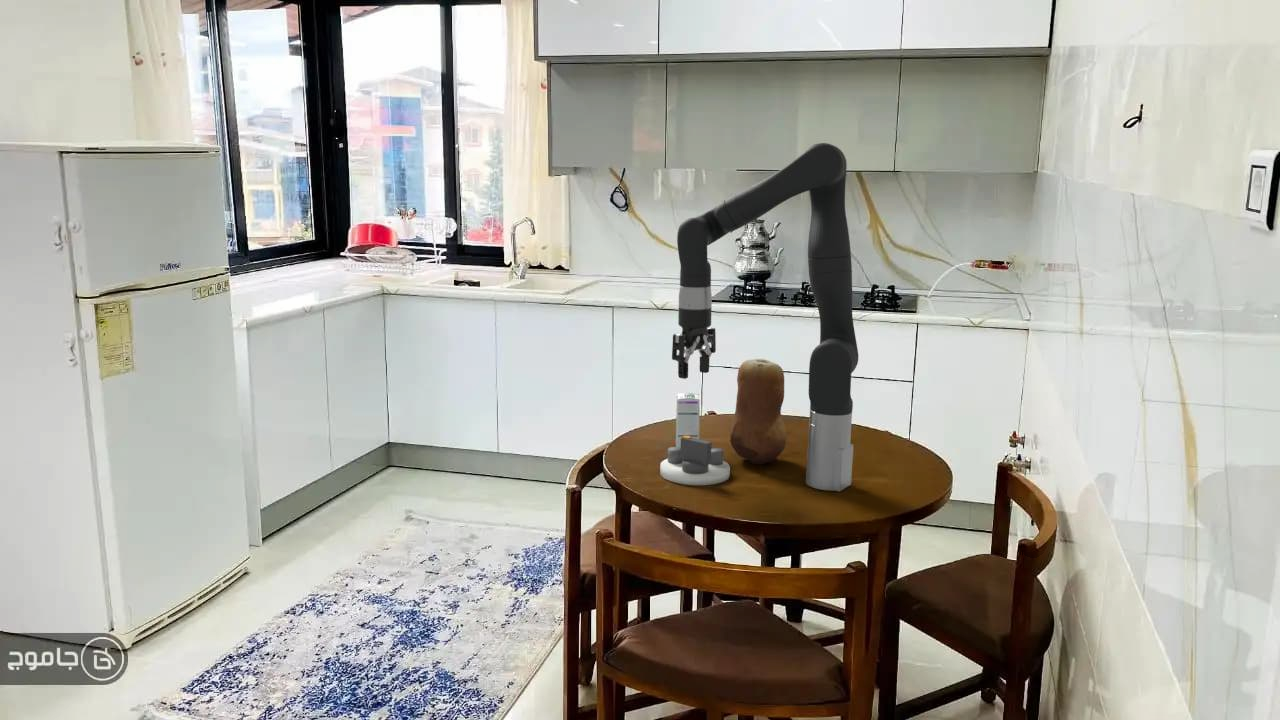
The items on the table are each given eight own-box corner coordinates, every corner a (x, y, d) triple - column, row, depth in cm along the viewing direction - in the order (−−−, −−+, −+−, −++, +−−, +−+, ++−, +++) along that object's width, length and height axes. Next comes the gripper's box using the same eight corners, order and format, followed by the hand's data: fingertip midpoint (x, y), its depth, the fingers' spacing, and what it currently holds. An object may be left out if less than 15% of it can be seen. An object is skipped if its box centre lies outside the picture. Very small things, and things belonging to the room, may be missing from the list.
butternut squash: (791, 457, 233) (797, 358, 228) (776, 473, 221) (781, 368, 216) (738, 449, 239) (742, 352, 234) (720, 464, 227) (723, 362, 222)
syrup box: (699, 456, 233) (701, 398, 230) (675, 455, 233) (676, 398, 230) (698, 449, 238) (700, 393, 236) (674, 448, 239) (676, 392, 236)
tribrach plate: (742, 472, 221) (743, 452, 220) (705, 490, 208) (705, 468, 207) (685, 459, 230) (686, 439, 229) (646, 475, 217) (646, 454, 216)
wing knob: (715, 469, 215) (716, 438, 214) (700, 476, 211) (701, 444, 209) (689, 463, 220) (690, 433, 218) (674, 469, 215) (675, 438, 213)
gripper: (690, 310, 208) (689, 382, 211) (725, 304, 219) (724, 372, 222) (663, 307, 213) (662, 378, 216) (699, 301, 224) (697, 368, 227)
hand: (693, 375), depth 219 cm, fingers open, 8 cm apart
